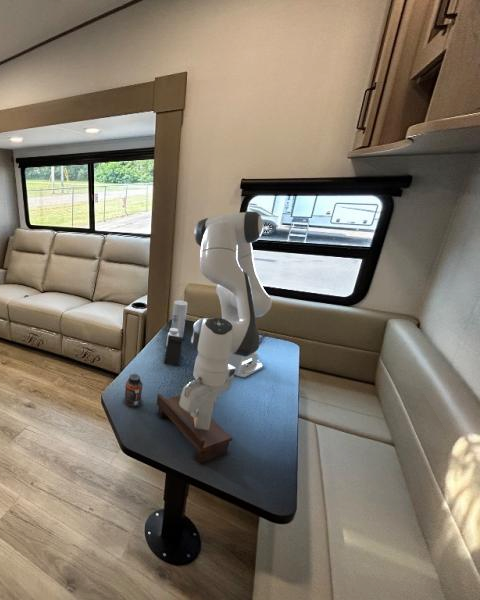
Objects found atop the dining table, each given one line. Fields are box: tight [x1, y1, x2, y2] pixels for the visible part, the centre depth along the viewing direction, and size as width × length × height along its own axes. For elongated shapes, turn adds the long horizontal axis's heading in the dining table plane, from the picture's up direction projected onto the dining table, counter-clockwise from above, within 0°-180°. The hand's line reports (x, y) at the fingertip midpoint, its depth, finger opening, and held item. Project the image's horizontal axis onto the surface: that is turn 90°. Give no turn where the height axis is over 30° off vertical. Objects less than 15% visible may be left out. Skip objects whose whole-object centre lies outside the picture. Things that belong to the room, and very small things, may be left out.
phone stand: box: [163, 335, 184, 367], centre depth 143 cm, size 9×6×12 cm, turn 156°
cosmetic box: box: [194, 393, 215, 430], centre depth 96 cm, size 6×4×12 cm
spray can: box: [170, 299, 189, 339], centre depth 162 cm, size 6×6×20 cm
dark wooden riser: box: [156, 393, 233, 464], centre depth 103 cm, size 12×22×9 cm, turn 21°
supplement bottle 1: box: [124, 373, 143, 408], centre depth 116 cm, size 6×6×11 cm
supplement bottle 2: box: [165, 327, 179, 347], centre depth 155 cm, size 5×5×10 cm
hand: (202, 410), depth 97 cm, fingers closed on cosmetic box, 7 cm apart
